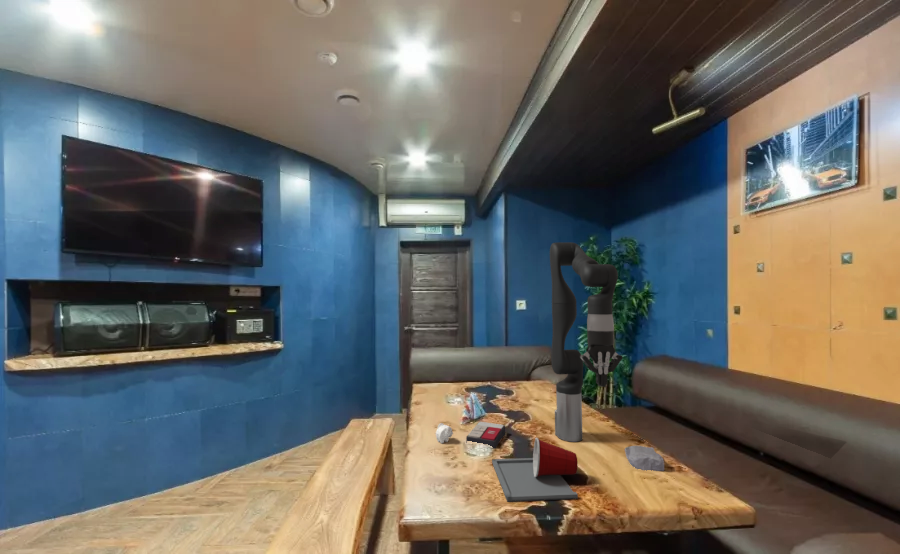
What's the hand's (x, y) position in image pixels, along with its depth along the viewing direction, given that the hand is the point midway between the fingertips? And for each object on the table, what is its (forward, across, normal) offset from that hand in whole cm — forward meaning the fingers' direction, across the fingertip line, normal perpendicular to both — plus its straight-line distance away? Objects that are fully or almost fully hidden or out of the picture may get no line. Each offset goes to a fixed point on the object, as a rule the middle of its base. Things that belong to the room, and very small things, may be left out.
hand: (601, 386), depth 108 cm
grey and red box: (+28, +31, -30) cm, 51 cm away
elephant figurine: (+27, +47, -29) cm, 62 cm away
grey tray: (+27, +23, +1) cm, 35 cm away
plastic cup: (+22, +9, +1) cm, 24 cm away
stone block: (+27, -17, -8) cm, 33 cm away
